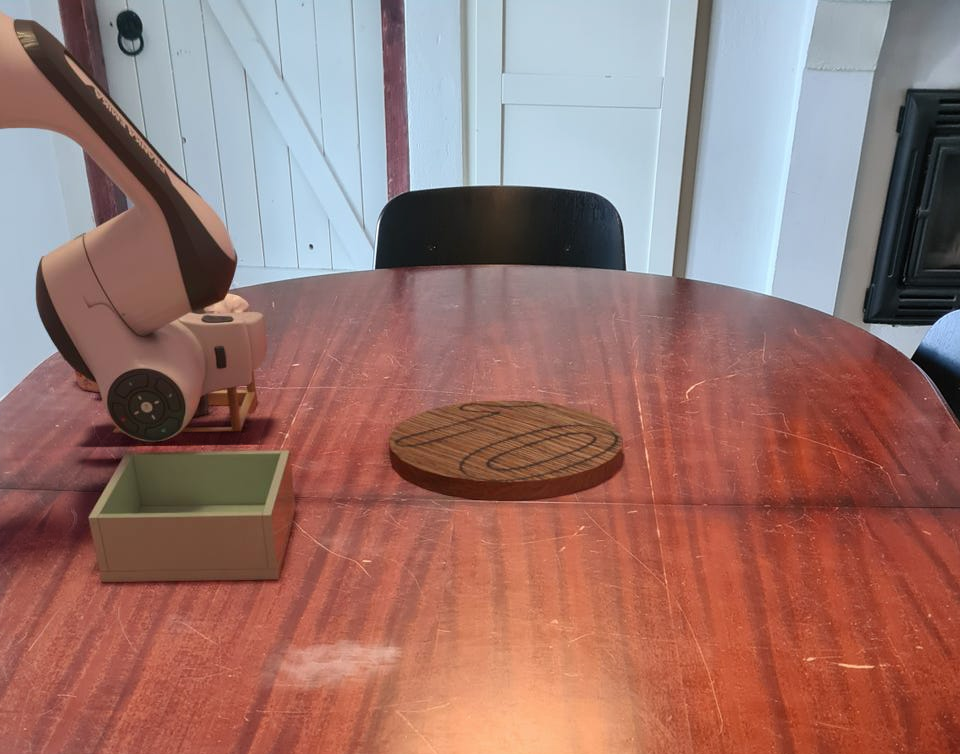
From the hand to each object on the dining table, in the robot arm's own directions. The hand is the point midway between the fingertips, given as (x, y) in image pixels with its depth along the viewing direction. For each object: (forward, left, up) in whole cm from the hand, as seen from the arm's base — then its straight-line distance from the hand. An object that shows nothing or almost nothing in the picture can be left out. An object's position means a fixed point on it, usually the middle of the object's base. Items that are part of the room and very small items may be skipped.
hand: (174, 319), depth 136 cm
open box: (+7, -35, -11) cm, 37 cm away
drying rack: (0, -1, -11) cm, 11 cm away
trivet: (+36, -13, -11) cm, 40 cm away
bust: (-3, +33, -11) cm, 35 cm away
